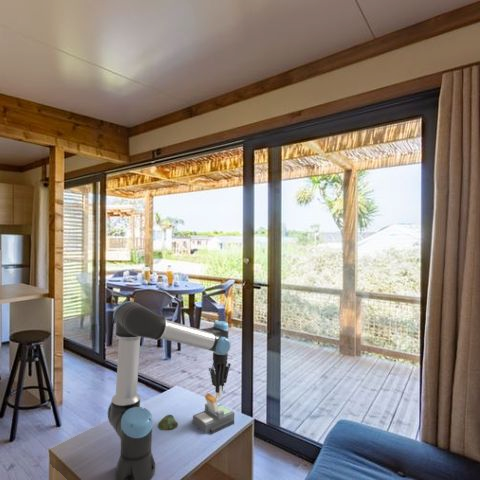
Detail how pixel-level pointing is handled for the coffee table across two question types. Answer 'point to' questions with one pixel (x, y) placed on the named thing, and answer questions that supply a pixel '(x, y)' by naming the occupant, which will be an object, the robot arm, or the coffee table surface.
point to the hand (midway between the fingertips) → (218, 398)
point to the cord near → (221, 426)
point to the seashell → (168, 423)
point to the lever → (212, 403)
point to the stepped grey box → (212, 418)
